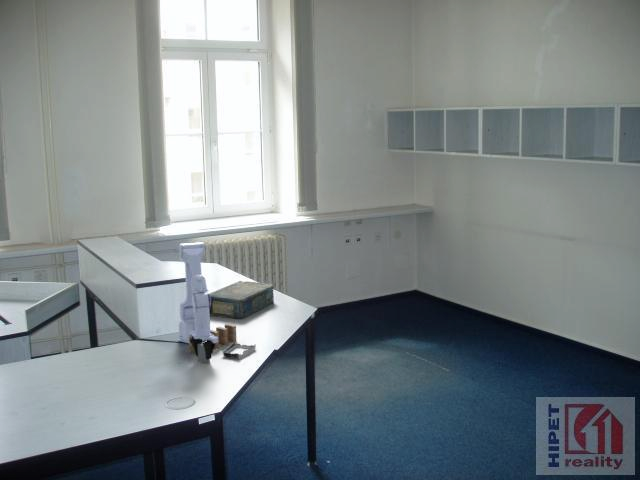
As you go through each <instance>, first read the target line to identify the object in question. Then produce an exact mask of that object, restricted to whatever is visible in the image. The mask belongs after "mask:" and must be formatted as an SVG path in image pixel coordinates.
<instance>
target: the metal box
mask: <svg viewBox="0 0 640 480" xmlns="http://www.w3.org/2000/svg"><path fill="white" fill-rule="evenodd" d="M209 294H210V298H211V305H210V307H209V306H208V307H209V314H210V316H214V317H219V316H220V318H221V317H222V318H226V317H227V318H228V319H235V320H242V319H245V318H247V317H248V316H251V315H252V314H254V313H256V312H259V311H260V310H262V309H264V308H266V307H268V306H270V305H272V304H273V303H275V300H274V284H273V283H266V282H257V281H242V280H238V281H237V282H234V283H231V284H229V285H227V286H224V287H222V288H219V289H217V290H215V291H212V292H209ZM227 318H226V319H227Z"/></svg>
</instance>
